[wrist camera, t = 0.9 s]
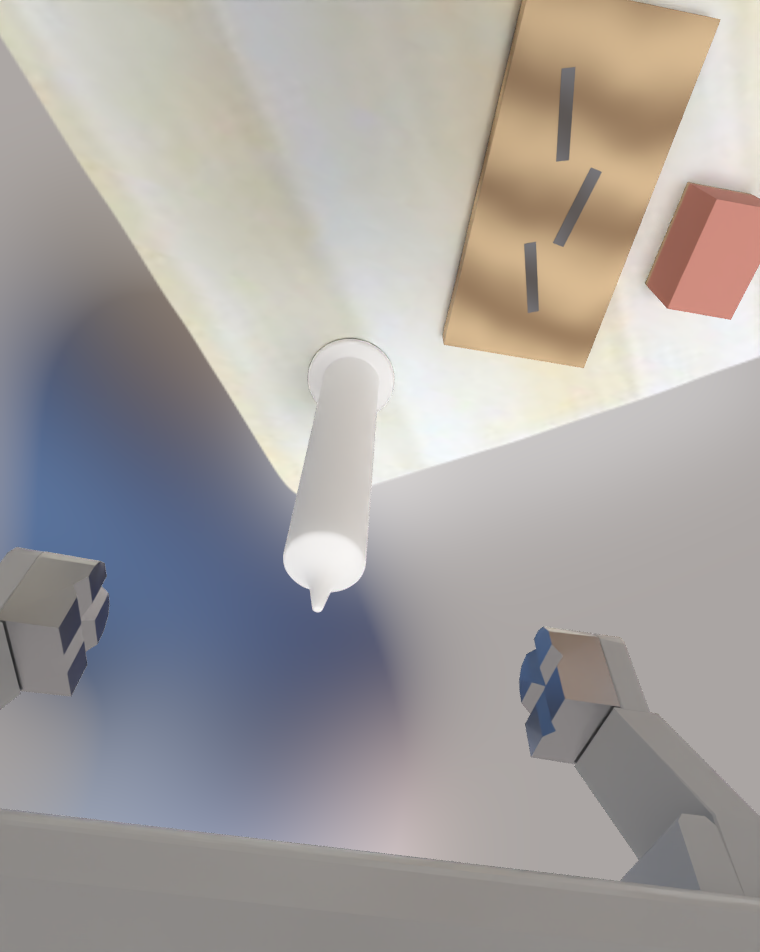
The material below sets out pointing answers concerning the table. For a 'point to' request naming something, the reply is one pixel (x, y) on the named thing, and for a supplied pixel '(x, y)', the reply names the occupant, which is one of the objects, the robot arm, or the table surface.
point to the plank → (570, 171)
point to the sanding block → (708, 252)
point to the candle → (337, 468)
